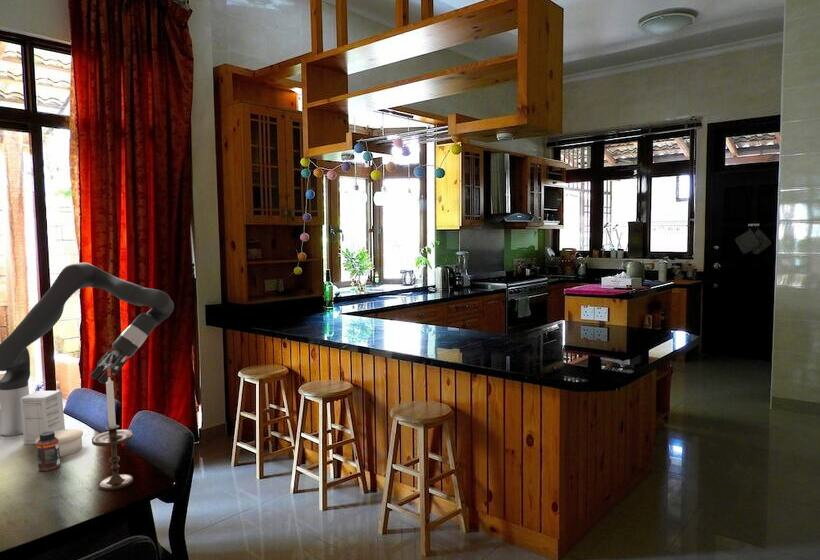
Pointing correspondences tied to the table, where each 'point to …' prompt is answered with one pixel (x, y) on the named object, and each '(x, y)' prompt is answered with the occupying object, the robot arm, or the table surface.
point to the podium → (68, 441)
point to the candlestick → (113, 444)
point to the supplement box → (41, 414)
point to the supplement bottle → (48, 451)
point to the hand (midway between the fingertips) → (96, 380)
